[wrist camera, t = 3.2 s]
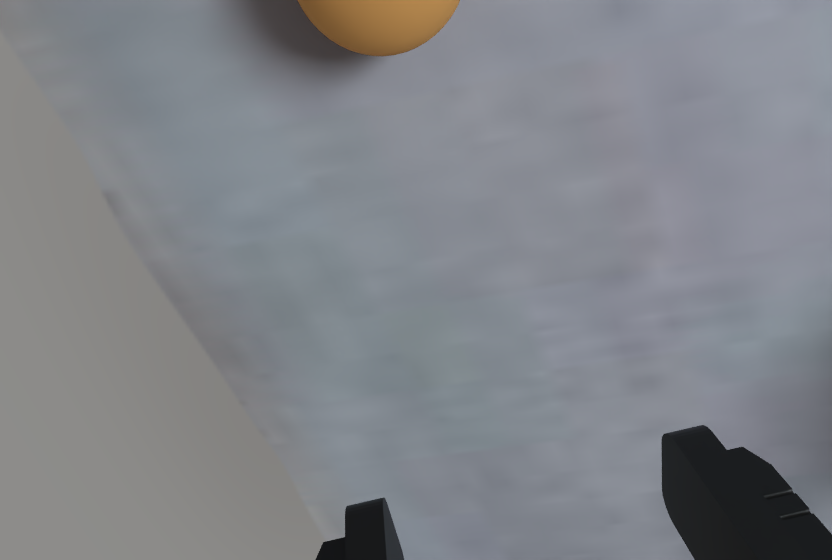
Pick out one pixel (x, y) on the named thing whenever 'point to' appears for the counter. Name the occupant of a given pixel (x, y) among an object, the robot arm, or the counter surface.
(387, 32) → the ball
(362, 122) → the counter surface
